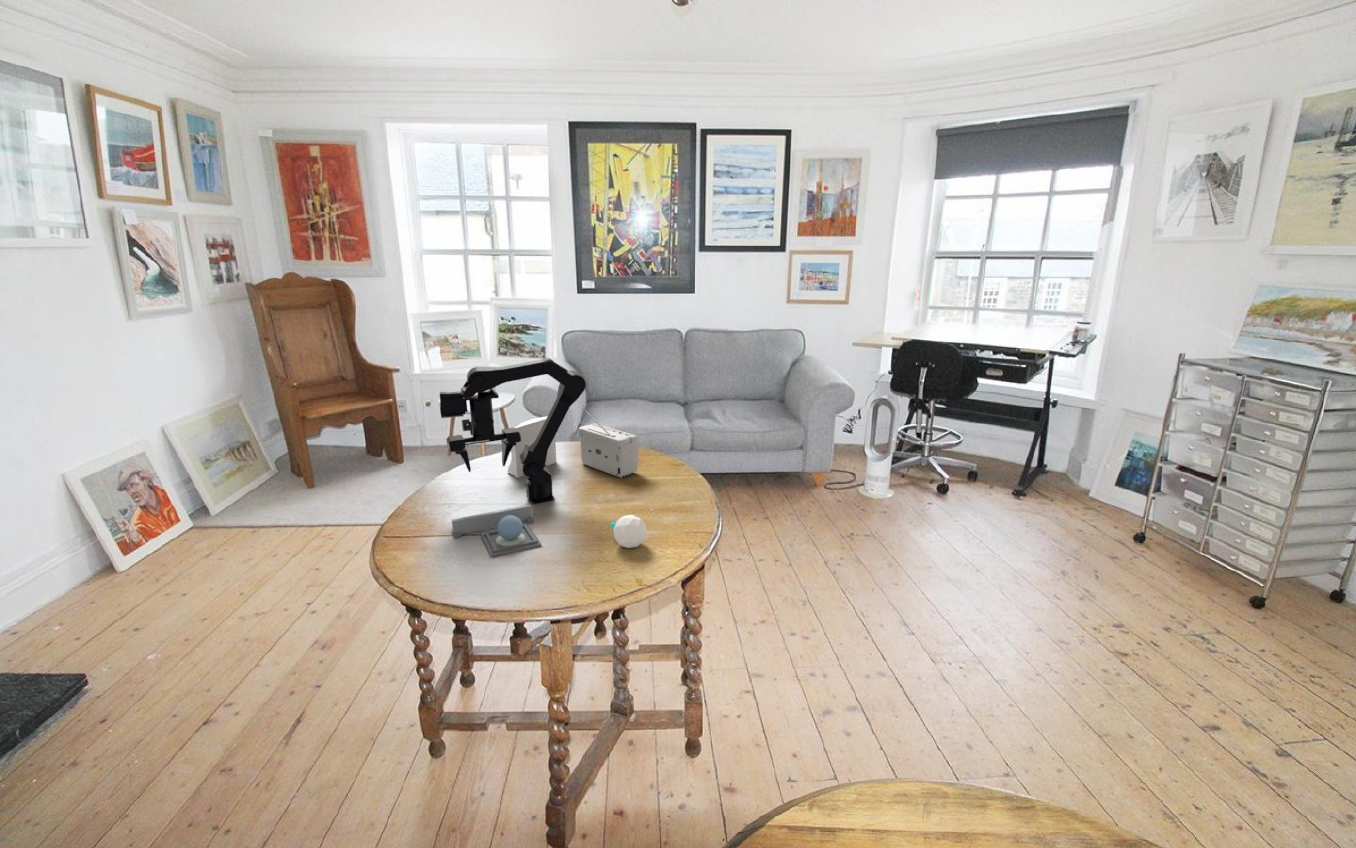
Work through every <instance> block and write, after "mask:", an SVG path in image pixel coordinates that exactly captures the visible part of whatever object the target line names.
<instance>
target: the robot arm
mask: <svg viewBox="0 0 1356 848" xmlns="http://www.w3.org/2000/svg"><path fill="white" fill-rule="evenodd" d="M545 375H547V376H550V377H551V378H553V379H554V380H555V381H557V382H558V383H559V384H558V389H557V395H556V399H555V401H554V403H553V404H552V407H551V408H550V411H549V412H548V415H547V418H546V420H545V422H544V424H543V426H542V428H541V430H540V432H539V434H538V436H537V438H536V440H535V442H534V443H533V444H532V445H531V446H528V445H527V444H525V447H524V450H523V452H522V453H521V454H520V455H519V457H520V465H521V468H522V471H523V473H524V476H525V477H526V478H527V483H526V484H525V493H526V498H527V499H528V500H529V501H530V502H531V503H532V504H539V503H544V502H549V501H553V500H555V497H554V495H553V482H552V481H553V479H552V477H553V475H552V474H551V472H550V469H549V467H548V466H547V465H545V463H546V458H547V452H548V449H549V447H550V445H551V443H552V441H553V439H554V437H555V438H556V434H557V433H558V431H559V429H560V426H561V425H562V423H563V421H564V419H565V417H566V415H567V413H568V411H569V409H570V407H572V405H573V404H574V403H575V402H576V401H578V399H579V398H580V397H581V395H582V394H583V393H584V391H585V390H586V387H587V384H586V381H585V379H584V378H583V377H582V375H581V374H580V373H578V372H577V371H574V370H568V369H567V368H565V367H563V366H561V365H560V364H559V363H557V362H555V361H554V360H553V359H551V358H549V357H544V358H542V359H538V360H533V361H526V362H522V363H521V362H520V363H517V364H511V365H506V366H474V367H472V368H470V369H469V371H468V372H467V375H466V382H465V383H464V384H463V386H462V387H461V388H460V391H440V392H439V410H440V411H439V412H440V419H450V418H459V417H464V415H466V413H468V411H470V419H469V418H467V419H466V418H465V419H462V420H461V425H462V431H463V432H468V431H469V432H470V433H469V434H470V436H471V437H463V434H458V435H457V434H456V435H450V436H447V438H446V439H445V441H446V447H447V448H448V451H449V453H454V454H455V455H460V457H461V458H462V460H463V463H464V465H465V467H466V469H467V471H468V472H469V473H471V464H470V458H469V454H468V451H467V449H466V446H469V445H478V444H482V443H484V444H485V443H489V442H496V441H497V442H498V441H501V463H502V466H503V467H506V464H507V462H508V458H509V456H510V453H511V449H512V447H513V446H515V445H516V442H520V441H521V435H520V433H519V432H518V431H517V430H516V429H515V427H510V428H509V427H508V428H502V429H501V432H500V433H495V421H494V412H493V411H494V410H493V401H492V399H499V397H500V396H499V393H498V392H497V391H495V390H494V389H495V388H496V387H498V386H500V385H502V384H505V383H510V382H513V381H514V382H515V381H519V380H524V379H529V378H534V377H539V376H545ZM468 401H469V409H470V410H468V404H467V402H468Z"/></svg>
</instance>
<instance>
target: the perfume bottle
mask: <svg viewBox="0 0 1356 848" xmlns="http://www.w3.org/2000/svg"><path fill="white" fill-rule="evenodd" d="M610 528H611V529H612V530H613V538H614V540H615V541H616V542H617V544H618V545H619V546H621V547H624V548H626V549H631V548H633V549H634V548H637V547H639V546H640V545H641V544H642V543H643V542H644V540H645V538H646V535H647V527H646V523H644V521H643V520H642V519H641V517H638V516H636V515H634V514H629V515H628V514H627V515H622V517H620V518H619V519H617V520H616V521H612V522H611V523H610Z"/></svg>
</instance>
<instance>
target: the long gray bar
mask: <svg viewBox="0 0 1356 848" xmlns="http://www.w3.org/2000/svg"><path fill="white" fill-rule="evenodd" d="M532 509H533V508H532V504H530V503H529V504H525V505H524V504H523V505H520V506H514V507H508V508H503V509H499V510H494V511H487V512H483V513H478V514H473V515H469V516H468V515H467V516H463V517H459V518H458V517H457V518H452V519H451V532H452V535H453V537H454V539H457V538H458V539H459V538H462V535H465V534H470V533H474V532H478V531H485V530H490V529H494V528H498V523H499V522H500V520H501V519H502V518H503V517H505V516H509V515H513V516H516V517H518V518H519V519H520V520H521V522H522V523H523V522H526V523H528V524H529V523H533V522H534V521H535V520H534V517H533V510H532Z"/></svg>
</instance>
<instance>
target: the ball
mask: <svg viewBox="0 0 1356 848" xmlns="http://www.w3.org/2000/svg"><path fill="white" fill-rule="evenodd" d="M523 525H524V524H523V522H521V520H520V519H519V518H518V517H516V516H513V515H509V516H505V517H503V518H502V519H501V520H500V522H499V523H498V527H497V530H498V533H499V535H500V536H501V537H502V538H504V539H506V540H513V539H516V538H517V537H518V536H519V535H520V534H521V532H522V529H523Z"/></svg>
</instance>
